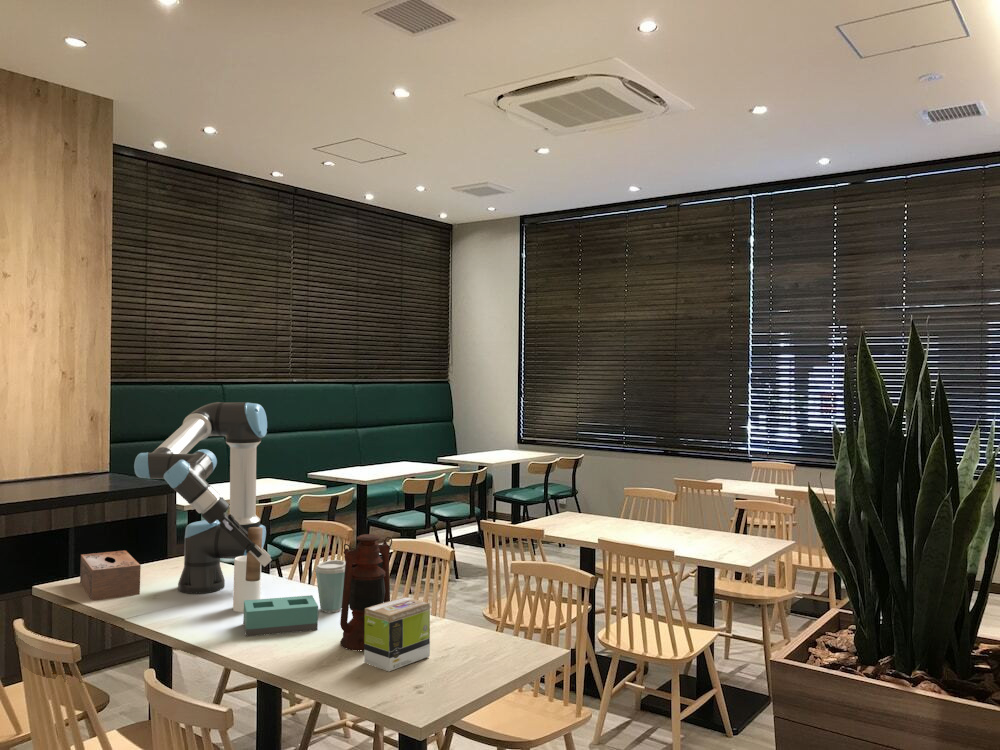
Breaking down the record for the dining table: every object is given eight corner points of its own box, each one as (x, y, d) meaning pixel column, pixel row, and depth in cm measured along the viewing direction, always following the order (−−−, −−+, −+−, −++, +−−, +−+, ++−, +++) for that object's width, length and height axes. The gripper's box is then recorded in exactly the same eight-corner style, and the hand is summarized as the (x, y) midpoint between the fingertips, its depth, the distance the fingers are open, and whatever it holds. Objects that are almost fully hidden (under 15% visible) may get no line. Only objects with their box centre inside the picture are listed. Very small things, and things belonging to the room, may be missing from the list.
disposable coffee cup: (328, 616, 243) (330, 568, 243) (306, 610, 249) (307, 562, 249) (354, 609, 251) (355, 562, 251) (332, 603, 258) (333, 557, 258)
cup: (264, 605, 253) (265, 555, 253) (253, 612, 245) (255, 561, 245) (239, 604, 254) (241, 554, 254) (228, 611, 246) (229, 560, 246)
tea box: (404, 648, 216) (405, 595, 216) (430, 657, 210) (431, 602, 210) (362, 663, 205) (363, 606, 205) (388, 673, 198) (390, 614, 198)
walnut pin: (245, 578, 230) (248, 527, 230) (259, 577, 231) (262, 526, 232) (245, 581, 226) (248, 529, 226) (260, 581, 228) (262, 529, 228)
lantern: (355, 656, 209) (358, 544, 209) (325, 643, 219) (328, 536, 219) (405, 641, 222) (408, 535, 222) (374, 630, 231) (377, 528, 231)
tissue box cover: (80, 583, 275) (80, 554, 275) (125, 578, 283) (125, 550, 283) (91, 601, 254) (92, 570, 254) (139, 595, 262) (140, 565, 262)
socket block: (243, 623, 234) (243, 600, 234) (311, 618, 241) (312, 595, 241) (246, 636, 223) (246, 611, 223) (317, 630, 230) (318, 606, 230)
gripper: (200, 509, 232) (256, 564, 237) (199, 520, 216) (259, 577, 221) (220, 491, 234) (275, 546, 239) (221, 500, 218) (279, 558, 223)
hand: (267, 561), depth 230 cm, fingers closed on walnut pin, 4 cm apart
